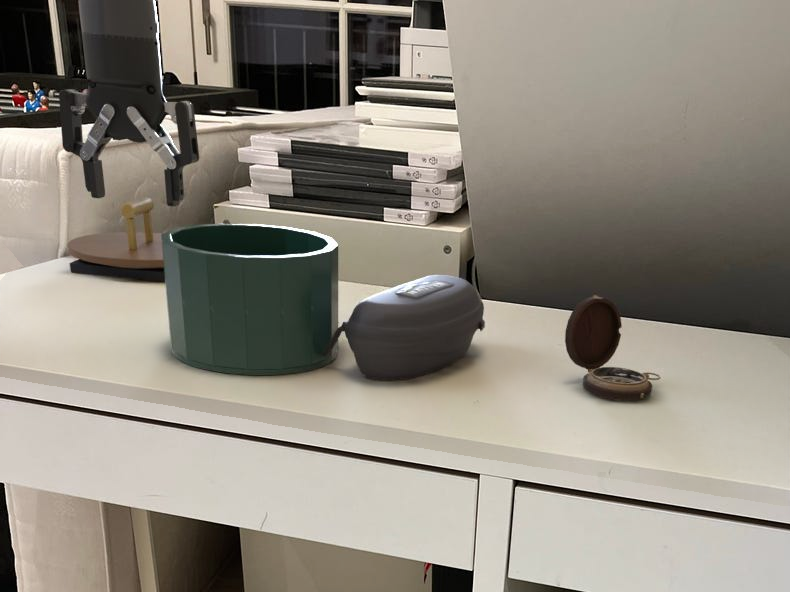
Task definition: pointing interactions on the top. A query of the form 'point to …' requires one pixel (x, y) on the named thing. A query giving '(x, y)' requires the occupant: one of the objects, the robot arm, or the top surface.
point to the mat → (116, 271)
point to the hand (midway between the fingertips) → (136, 201)
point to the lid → (123, 242)
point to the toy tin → (251, 297)
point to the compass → (602, 351)
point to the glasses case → (413, 327)
